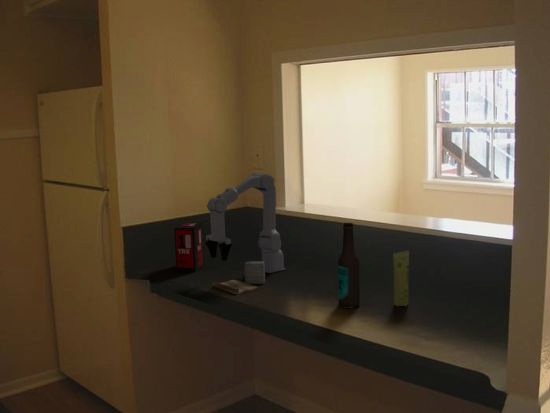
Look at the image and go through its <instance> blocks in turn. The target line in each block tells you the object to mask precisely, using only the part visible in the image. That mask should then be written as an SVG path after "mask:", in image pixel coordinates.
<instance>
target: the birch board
mask: <svg viewBox="0 0 550 413" xmlns="http://www.w3.org/2000/svg"><path fill="white" fill-rule="evenodd" d="M212 287H213V288H216V289H217V290H221V291H225V292H228V293H231V294H234V295H240V294H244V293H248V292H252V291H255V290H256V291H257V290H259V286H256V285H255V284H247V283H245V282H243V281H239V280H235V279H231V280H227V281H224V282H217V281H212Z"/></svg>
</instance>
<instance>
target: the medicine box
mask: <svg viewBox="0 0 550 413" xmlns="http://www.w3.org/2000/svg"><path fill="white" fill-rule="evenodd" d="M265 282H266V272H265V264H264V261H262V260H261V261H246V262H245V263H244V283H247V284H250V285H264V284H265Z"/></svg>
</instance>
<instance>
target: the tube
mask: <svg viewBox="0 0 550 413" xmlns="http://www.w3.org/2000/svg"><path fill="white" fill-rule="evenodd" d="M392 261H393V262H392V263H393V297H394V298H393V299H394V301H393V305H394V306H395V305H396V306H395V307H398V306H405V307H408V306H407V305H409V277H410V276H409V274H410V272H409V270H410V268H409V266H410V250H404V251H399V252H394V253H392Z"/></svg>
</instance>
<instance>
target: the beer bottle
mask: <svg viewBox="0 0 550 413" xmlns="http://www.w3.org/2000/svg"><path fill="white" fill-rule="evenodd" d="M342 225H343V227H342V230H343V235H342V236H343V237H342V251H341V254H340V255H339V256H338V258H337V259H338V260H337V275H338V276H337V285H338V286H337V288H338V290H337V296H338V306H339V307H340V306H341V307H340V308H342V307H346V308H345V309H349V308H348V307H356V308H358V307H359V306H360V301H361V299H360V297H361V296H360V295H361V294H360V289H361V288H360V259H359V257H358V255H357V254H356V252H355V243H354V231H353V230H354V223H353V222H344V223H343V224H342ZM357 306H358V307H357Z"/></svg>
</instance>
